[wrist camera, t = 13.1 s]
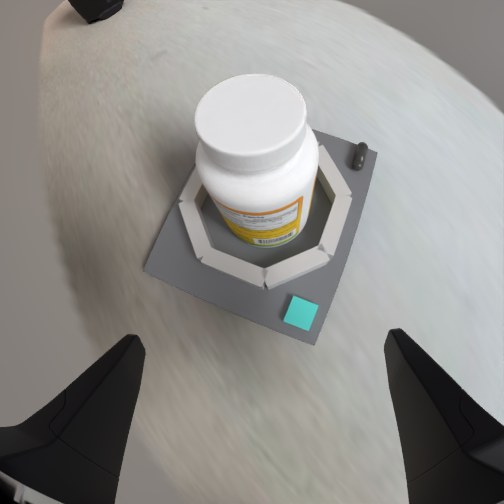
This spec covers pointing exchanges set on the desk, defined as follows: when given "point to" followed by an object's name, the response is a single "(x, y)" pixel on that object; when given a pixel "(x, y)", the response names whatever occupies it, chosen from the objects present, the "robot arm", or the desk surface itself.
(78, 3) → the portable speaker
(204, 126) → the supplement bottle
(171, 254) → the charging dock
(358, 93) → the desk surface
